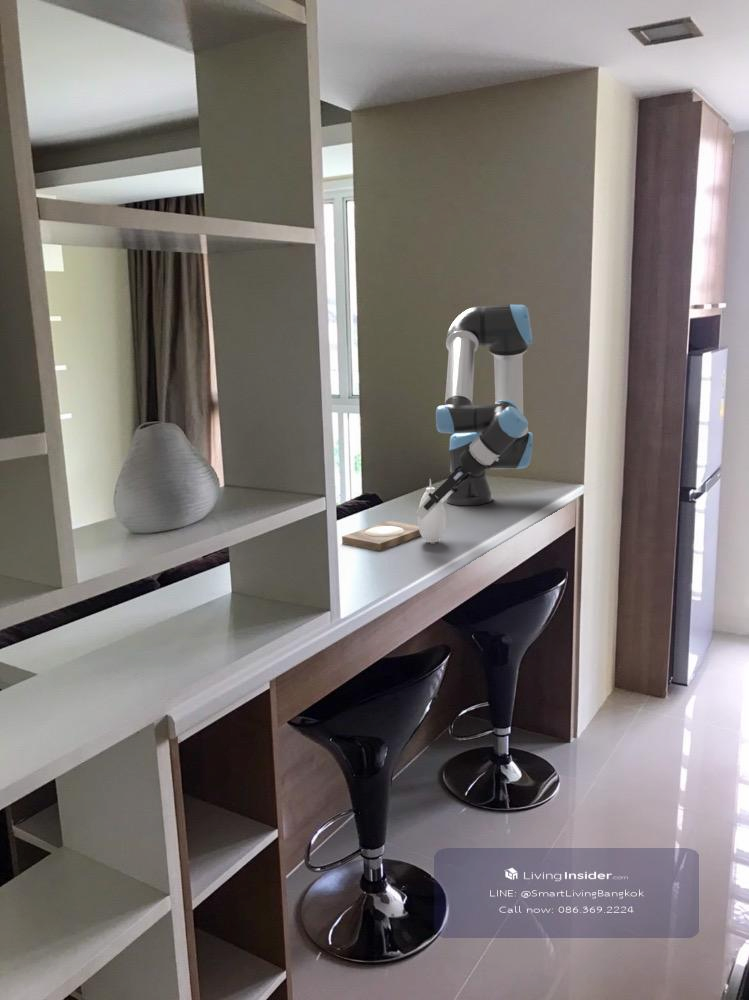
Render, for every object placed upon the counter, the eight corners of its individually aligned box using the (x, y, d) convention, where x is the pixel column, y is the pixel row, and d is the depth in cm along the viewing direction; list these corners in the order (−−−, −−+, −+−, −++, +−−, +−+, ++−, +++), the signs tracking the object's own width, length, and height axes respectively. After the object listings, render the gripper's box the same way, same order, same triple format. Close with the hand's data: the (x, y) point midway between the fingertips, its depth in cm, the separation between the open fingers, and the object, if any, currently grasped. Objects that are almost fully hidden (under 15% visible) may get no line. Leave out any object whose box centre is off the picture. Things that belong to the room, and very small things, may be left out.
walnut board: (389, 527, 247) (389, 520, 246) (426, 534, 237) (426, 526, 237) (342, 543, 232) (342, 535, 232) (379, 550, 223) (379, 543, 223)
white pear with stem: (445, 546, 224) (443, 481, 220) (416, 546, 225) (413, 481, 221) (448, 538, 231) (446, 475, 227) (420, 538, 233) (417, 475, 229)
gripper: (476, 475, 206) (421, 531, 215) (500, 458, 228) (449, 509, 237) (455, 454, 207) (401, 510, 216) (480, 438, 229) (431, 490, 238)
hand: (426, 509), depth 227 cm, fingers open, 13 cm apart
